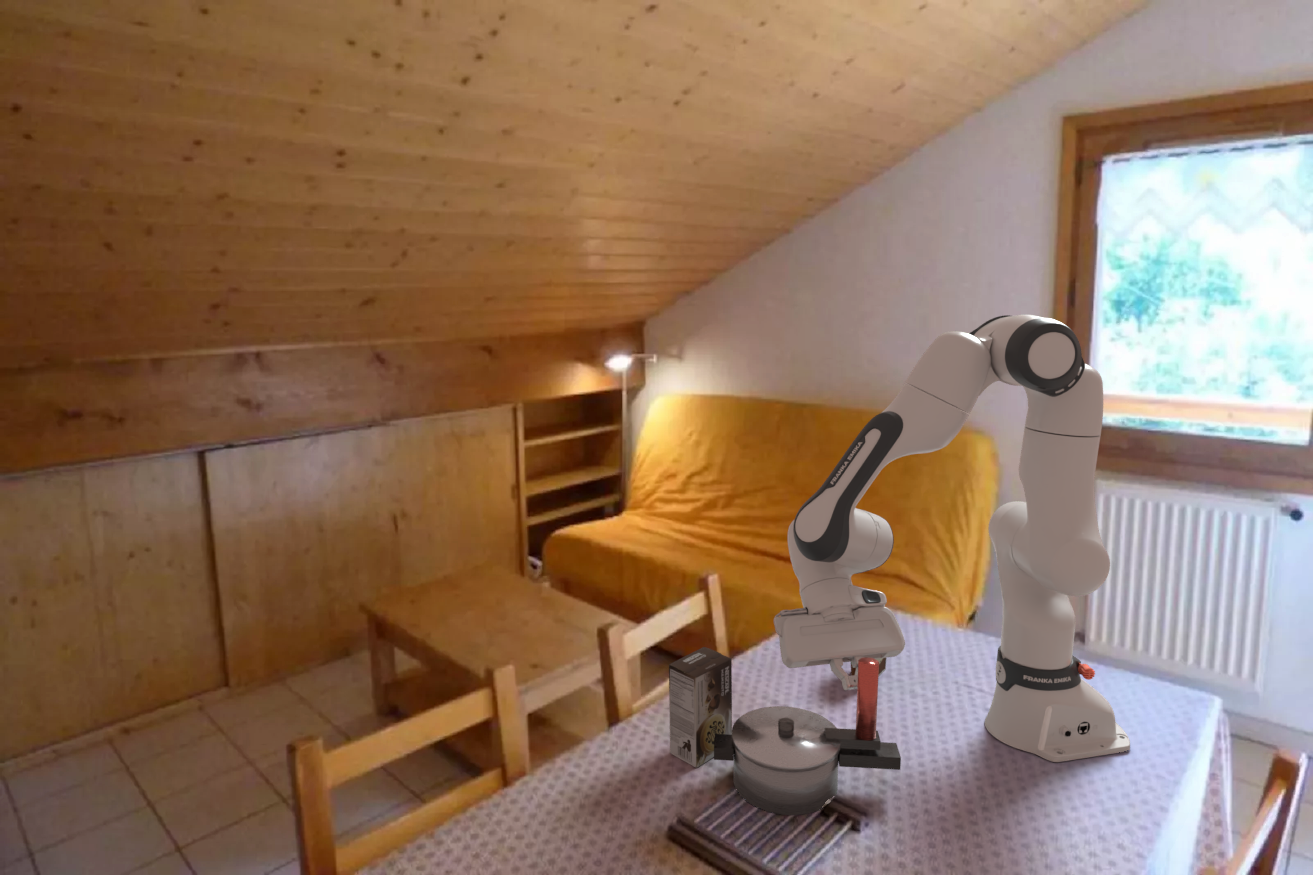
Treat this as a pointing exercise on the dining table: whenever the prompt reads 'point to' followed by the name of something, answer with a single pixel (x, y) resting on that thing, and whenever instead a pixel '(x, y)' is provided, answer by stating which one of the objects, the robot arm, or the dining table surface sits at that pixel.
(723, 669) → the coffee box
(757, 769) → the pot
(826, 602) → the robot arm
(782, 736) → the lid
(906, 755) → the dining table surface
